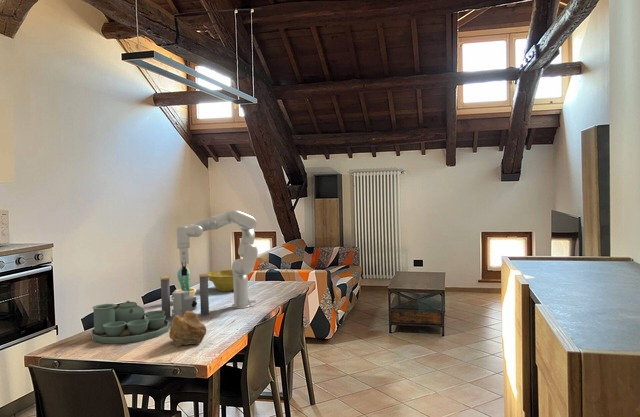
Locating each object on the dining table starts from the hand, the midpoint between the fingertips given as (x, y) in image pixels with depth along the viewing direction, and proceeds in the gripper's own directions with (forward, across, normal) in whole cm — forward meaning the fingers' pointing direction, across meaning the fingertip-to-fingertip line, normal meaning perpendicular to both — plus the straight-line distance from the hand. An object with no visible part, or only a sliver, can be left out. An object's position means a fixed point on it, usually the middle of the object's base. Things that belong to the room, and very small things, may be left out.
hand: (184, 275), depth 291 cm
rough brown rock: (+26, -57, -1) cm, 63 cm away
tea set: (+26, -26, +29) cm, 47 cm away
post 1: (+25, 0, +11) cm, 28 cm away
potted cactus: (+26, +44, -1) cm, 51 cm away
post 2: (+25, 0, -12) cm, 28 cm away
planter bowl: (+25, +76, -34) cm, 87 cm away
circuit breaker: (+26, 0, 0) cm, 26 cm away
